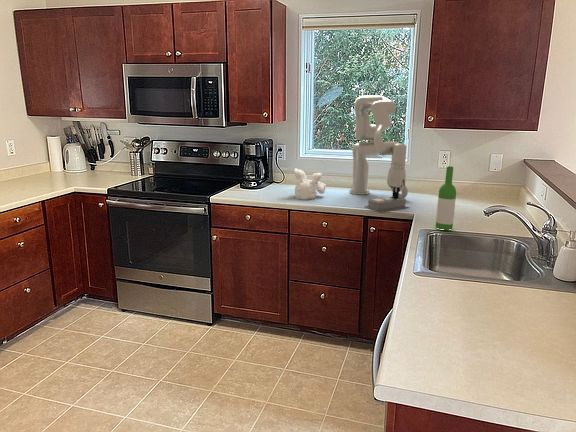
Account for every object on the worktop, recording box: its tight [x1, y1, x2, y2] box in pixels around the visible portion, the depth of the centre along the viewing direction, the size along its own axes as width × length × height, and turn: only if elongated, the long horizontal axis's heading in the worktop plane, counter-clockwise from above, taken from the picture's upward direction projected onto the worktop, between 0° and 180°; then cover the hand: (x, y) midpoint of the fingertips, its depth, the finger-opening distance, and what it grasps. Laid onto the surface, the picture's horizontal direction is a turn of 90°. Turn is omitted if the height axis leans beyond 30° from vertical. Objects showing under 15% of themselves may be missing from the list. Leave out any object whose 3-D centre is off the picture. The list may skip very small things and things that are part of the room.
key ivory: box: [372, 198, 384, 203], centre depth 266 cm, size 4×4×3 cm
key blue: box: [381, 196, 393, 201], centre depth 269 cm, size 4×4×3 cm
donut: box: [398, 185, 409, 199], centre depth 289 cm, size 10×4×10 cm, turn 43°
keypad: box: [363, 196, 410, 214], centre depth 269 cm, size 14×20×5 cm
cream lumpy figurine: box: [293, 167, 327, 201], centre depth 292 cm, size 19×20×20 cm
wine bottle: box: [435, 165, 457, 230], centre depth 226 cm, size 8×8×30 cm
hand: (395, 198), depth 273 cm, fingers closed
